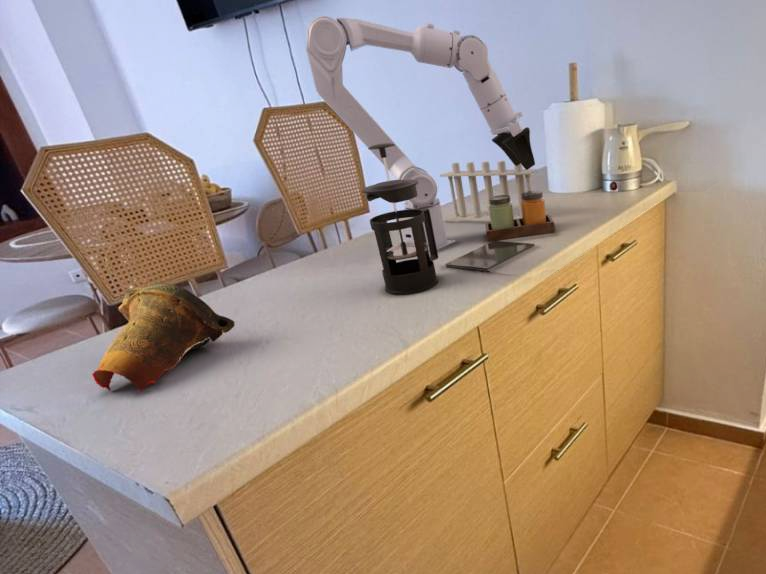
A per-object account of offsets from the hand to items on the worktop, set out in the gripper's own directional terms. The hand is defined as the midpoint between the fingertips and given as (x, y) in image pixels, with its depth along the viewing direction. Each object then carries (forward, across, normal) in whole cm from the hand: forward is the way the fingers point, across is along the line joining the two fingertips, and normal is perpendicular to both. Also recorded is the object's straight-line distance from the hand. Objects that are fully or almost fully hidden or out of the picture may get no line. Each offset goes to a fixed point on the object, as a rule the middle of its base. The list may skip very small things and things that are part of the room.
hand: (525, 165), depth 115 cm
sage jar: (+9, -3, +11) cm, 15 cm away
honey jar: (+11, -5, +5) cm, 13 cm away
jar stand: (+11, -4, +9) cm, 14 cm away
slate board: (+7, -16, +17) cm, 24 cm away
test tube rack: (+10, +14, +10) cm, 20 cm away
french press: (+1, -22, +32) cm, 39 cm away
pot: (-13, -34, +66) cm, 75 cm away
